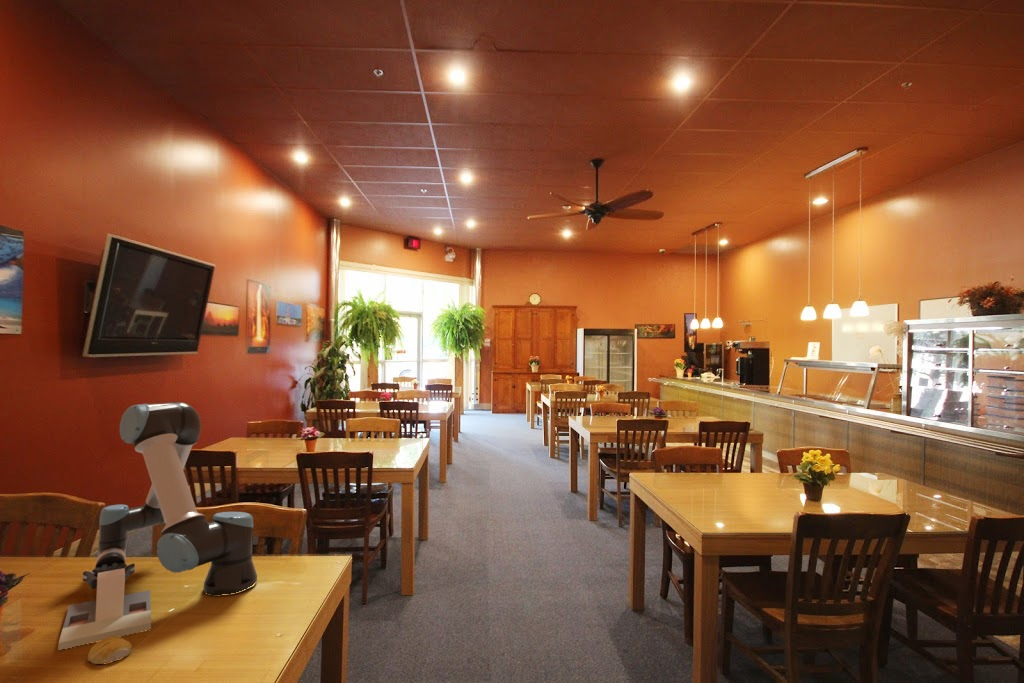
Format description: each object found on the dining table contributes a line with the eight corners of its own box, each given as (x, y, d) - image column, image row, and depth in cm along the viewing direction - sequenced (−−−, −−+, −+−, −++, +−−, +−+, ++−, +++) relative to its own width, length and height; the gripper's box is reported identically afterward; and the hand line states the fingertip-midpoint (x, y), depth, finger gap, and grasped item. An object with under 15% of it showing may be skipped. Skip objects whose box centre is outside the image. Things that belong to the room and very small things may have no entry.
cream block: (95, 613, 147) (97, 572, 147) (122, 607, 150) (124, 568, 151) (95, 622, 142) (97, 580, 142) (123, 615, 145) (125, 575, 146)
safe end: (62, 636, 138) (62, 628, 138) (150, 617, 149) (150, 610, 149) (58, 651, 131) (58, 642, 131) (150, 630, 142) (151, 622, 142)
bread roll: (120, 643, 136) (121, 627, 136) (136, 654, 131) (137, 638, 131) (80, 658, 129) (81, 641, 129) (96, 670, 124) (97, 653, 124)
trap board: (69, 612, 151) (69, 605, 151) (149, 596, 162) (150, 589, 162) (62, 636, 138) (62, 628, 138) (150, 617, 149) (150, 610, 149)
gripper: (135, 571, 171) (134, 599, 152) (83, 580, 164) (75, 610, 144) (136, 548, 172) (135, 572, 152) (84, 555, 164) (76, 582, 145)
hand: (106, 591), depth 148 cm, fingers closed
